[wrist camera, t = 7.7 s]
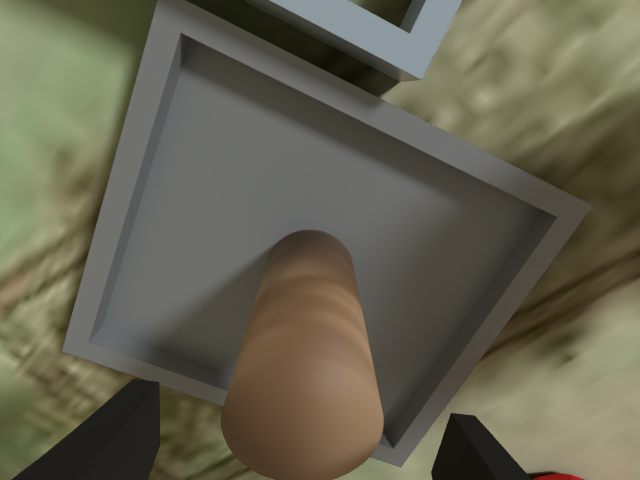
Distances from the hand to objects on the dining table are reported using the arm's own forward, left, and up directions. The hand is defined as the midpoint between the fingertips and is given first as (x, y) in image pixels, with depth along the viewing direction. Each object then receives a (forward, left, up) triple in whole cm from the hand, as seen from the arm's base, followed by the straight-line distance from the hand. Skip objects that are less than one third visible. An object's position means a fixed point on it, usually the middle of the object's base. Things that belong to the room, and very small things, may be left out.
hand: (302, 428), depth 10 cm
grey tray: (0, 0, -10) cm, 10 cm away
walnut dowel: (0, 0, -9) cm, 9 cm away
